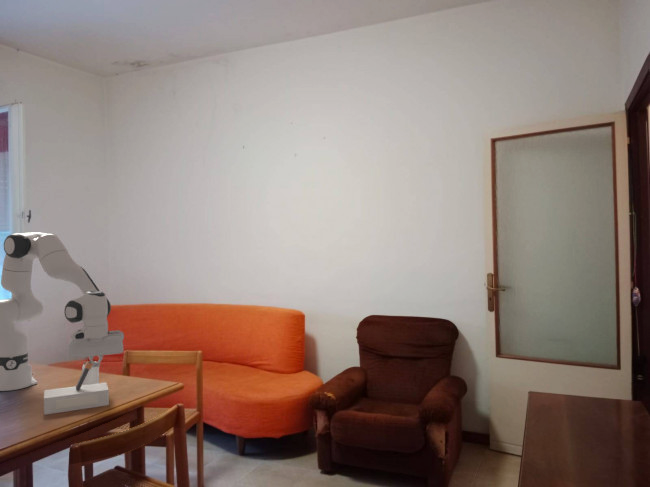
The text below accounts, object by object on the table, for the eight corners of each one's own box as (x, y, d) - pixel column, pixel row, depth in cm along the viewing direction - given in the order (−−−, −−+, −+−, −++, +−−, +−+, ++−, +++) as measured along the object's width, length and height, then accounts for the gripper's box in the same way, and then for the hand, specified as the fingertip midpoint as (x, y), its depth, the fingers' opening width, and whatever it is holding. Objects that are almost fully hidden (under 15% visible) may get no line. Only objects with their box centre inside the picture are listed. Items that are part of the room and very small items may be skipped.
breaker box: (44, 405, 192) (44, 390, 192) (106, 396, 203) (106, 382, 203) (44, 415, 182) (43, 398, 182) (109, 405, 192) (108, 389, 192)
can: (102, 388, 215) (101, 361, 215) (93, 393, 208) (93, 364, 208) (87, 388, 215) (87, 360, 215) (79, 392, 209) (78, 364, 209)
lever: (74, 387, 194) (86, 361, 196) (79, 388, 195) (92, 362, 197) (74, 389, 190) (87, 363, 192) (79, 391, 191) (92, 364, 193)
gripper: (122, 328, 204) (123, 362, 204) (67, 333, 194) (67, 368, 194) (124, 330, 198) (125, 365, 198) (67, 335, 188) (67, 372, 188)
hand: (96, 366), depth 196 cm, fingers closed
